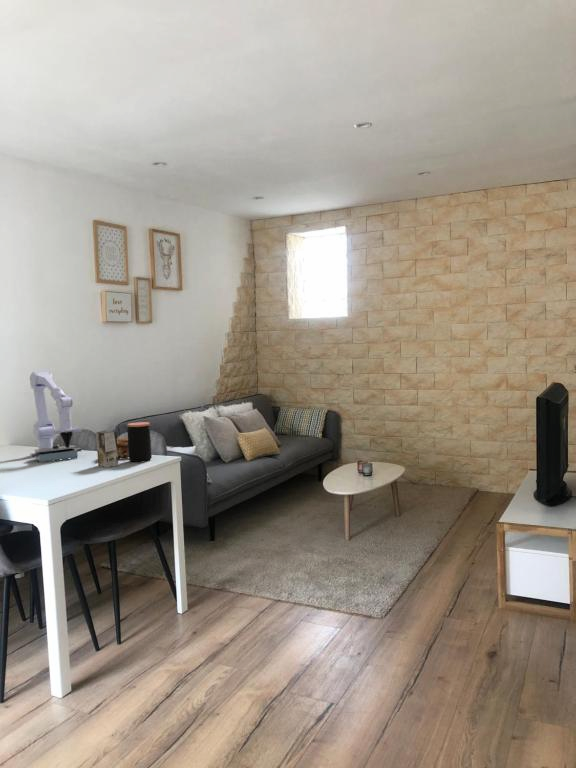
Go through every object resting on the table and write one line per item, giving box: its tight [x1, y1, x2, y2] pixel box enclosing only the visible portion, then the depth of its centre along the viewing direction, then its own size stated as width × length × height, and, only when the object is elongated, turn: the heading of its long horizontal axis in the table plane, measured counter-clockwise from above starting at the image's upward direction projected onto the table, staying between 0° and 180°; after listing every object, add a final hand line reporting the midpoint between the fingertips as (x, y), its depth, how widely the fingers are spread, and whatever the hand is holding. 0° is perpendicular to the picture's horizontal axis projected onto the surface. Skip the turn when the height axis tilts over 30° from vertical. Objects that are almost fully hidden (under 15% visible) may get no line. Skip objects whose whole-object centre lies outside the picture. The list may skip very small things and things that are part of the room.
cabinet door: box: [34, 444, 79, 453], centre depth 321 cm, size 15×19×2 cm
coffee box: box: [95, 429, 119, 468], centre depth 295 cm, size 9×6×16 cm
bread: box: [117, 436, 129, 459], centre depth 317 cm, size 19×11×10 cm, turn 113°
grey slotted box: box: [29, 447, 82, 463], centre depth 322 cm, size 14×24×4 cm, turn 120°
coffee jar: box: [126, 421, 153, 463], centre depth 304 cm, size 11×11×18 cm
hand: (67, 447), depth 321 cm, fingers closed, pressing on cabinet door
